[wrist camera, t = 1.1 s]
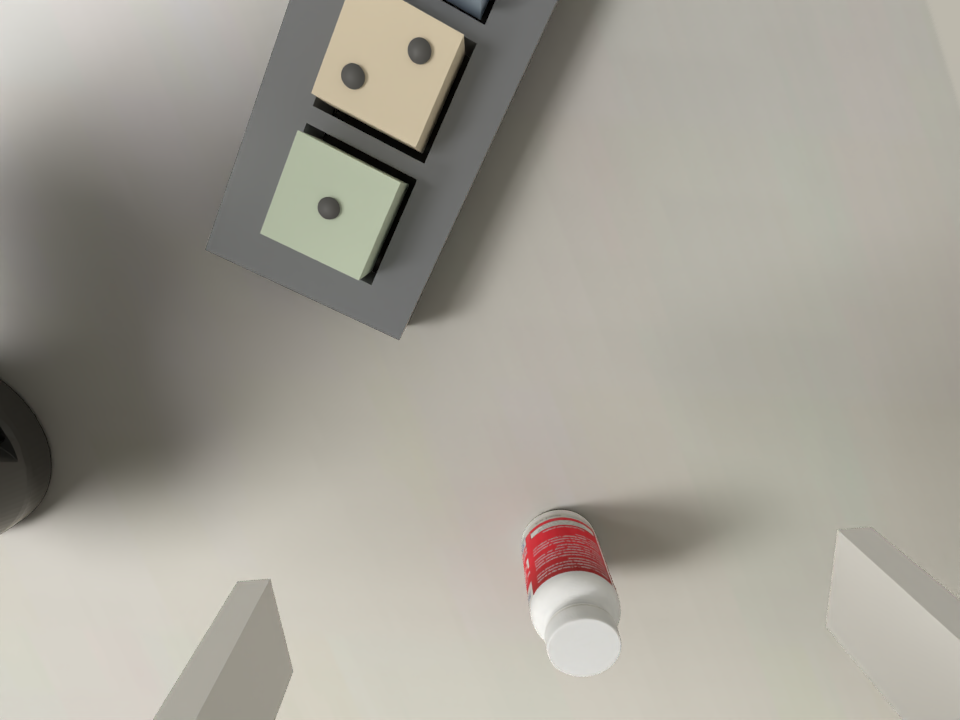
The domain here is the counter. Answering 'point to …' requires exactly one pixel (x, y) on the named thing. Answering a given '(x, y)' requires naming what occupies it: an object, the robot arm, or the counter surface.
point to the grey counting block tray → (440, 179)
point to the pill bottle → (571, 593)
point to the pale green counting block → (333, 206)
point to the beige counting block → (390, 68)
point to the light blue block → (471, 6)
